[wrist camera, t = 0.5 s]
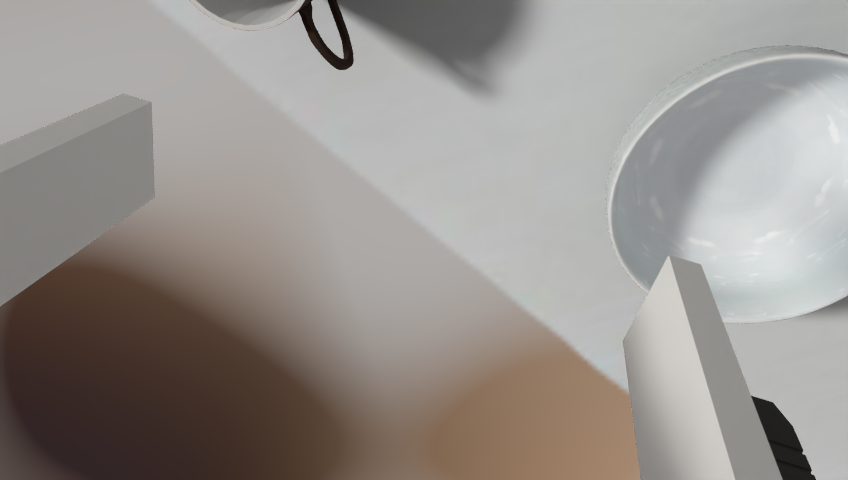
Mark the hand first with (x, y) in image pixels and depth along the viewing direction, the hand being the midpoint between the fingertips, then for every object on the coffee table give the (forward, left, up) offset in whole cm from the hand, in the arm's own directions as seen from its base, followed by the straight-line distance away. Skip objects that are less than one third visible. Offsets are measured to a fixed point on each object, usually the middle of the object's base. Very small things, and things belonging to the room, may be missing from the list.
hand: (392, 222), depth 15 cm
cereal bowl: (+5, +17, -28) cm, 33 cm away
